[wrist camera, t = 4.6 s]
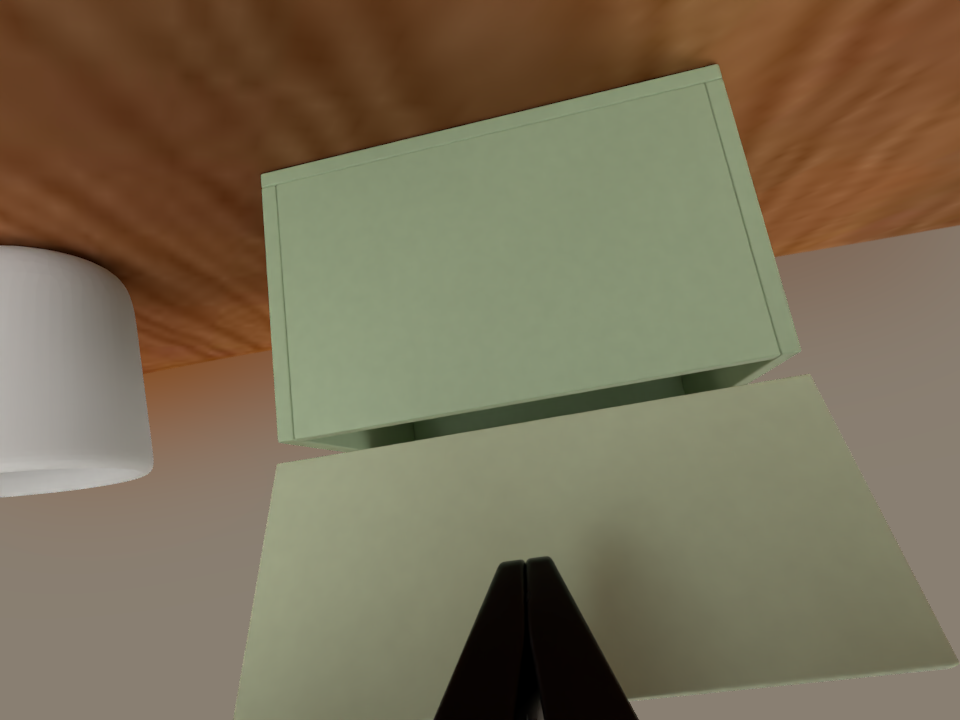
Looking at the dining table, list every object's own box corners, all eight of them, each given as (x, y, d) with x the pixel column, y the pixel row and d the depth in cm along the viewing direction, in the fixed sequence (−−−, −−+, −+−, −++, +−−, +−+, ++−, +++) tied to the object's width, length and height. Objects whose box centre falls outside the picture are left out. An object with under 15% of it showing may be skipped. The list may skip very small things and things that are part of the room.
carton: (259, 173, 18) (279, 471, 16) (718, 62, 16) (812, 382, 14) (391, 301, 31) (412, 478, 28) (659, 246, 29) (703, 431, 27)
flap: (283, 470, 16) (276, 463, 16) (806, 381, 14) (810, 372, 14) (238, 741, 12) (228, 739, 12) (952, 669, 10) (961, 664, 10)
